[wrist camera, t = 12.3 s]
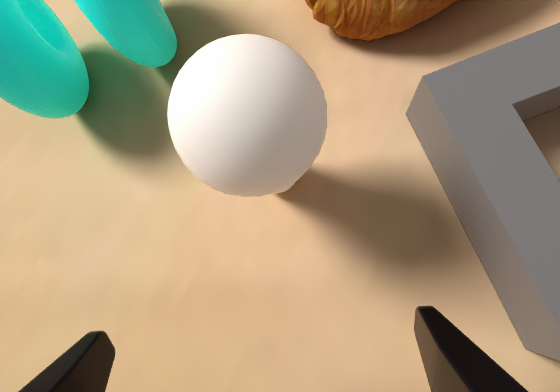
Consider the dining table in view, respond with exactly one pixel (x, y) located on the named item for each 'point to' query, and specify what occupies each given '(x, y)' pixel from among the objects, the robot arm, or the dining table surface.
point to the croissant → (374, 15)
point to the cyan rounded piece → (72, 50)
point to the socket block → (502, 172)
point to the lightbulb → (247, 115)
